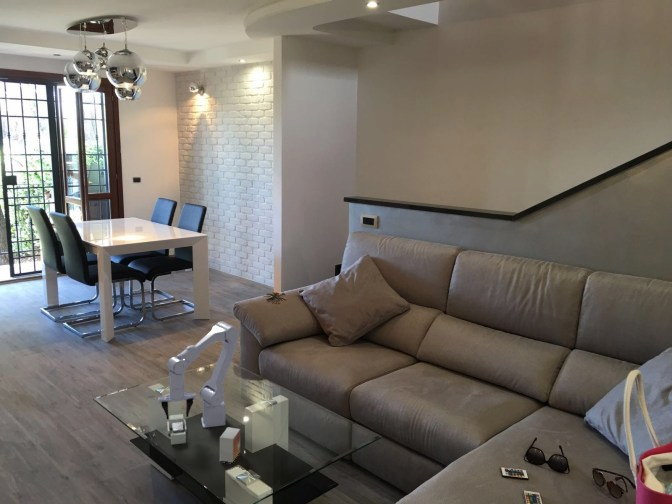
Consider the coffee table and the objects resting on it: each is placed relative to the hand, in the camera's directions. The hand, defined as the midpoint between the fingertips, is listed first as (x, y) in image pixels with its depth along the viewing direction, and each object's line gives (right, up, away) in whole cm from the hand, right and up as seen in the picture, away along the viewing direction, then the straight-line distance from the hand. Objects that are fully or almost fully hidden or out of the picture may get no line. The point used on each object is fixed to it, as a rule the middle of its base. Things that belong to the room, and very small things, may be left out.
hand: (177, 416), depth 230 cm
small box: (+24, -13, -11) cm, 29 cm away
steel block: (0, -9, +1) cm, 9 cm away
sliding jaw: (-3, -6, +9) cm, 12 cm away
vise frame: (-1, -8, +3) cm, 9 cm away
